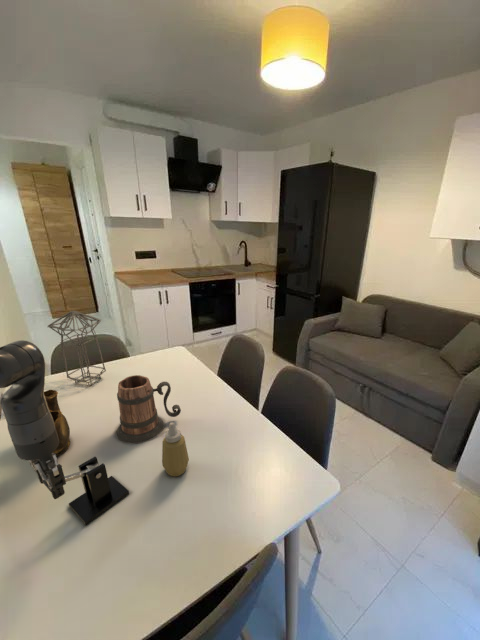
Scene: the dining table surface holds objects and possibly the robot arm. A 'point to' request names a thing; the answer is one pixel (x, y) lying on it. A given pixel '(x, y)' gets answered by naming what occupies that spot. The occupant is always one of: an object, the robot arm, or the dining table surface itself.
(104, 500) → the bracket
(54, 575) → the dining table surface
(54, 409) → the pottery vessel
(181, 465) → the squeeze bottle
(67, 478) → the lever
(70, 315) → the geometric lantern
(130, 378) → the tankard
